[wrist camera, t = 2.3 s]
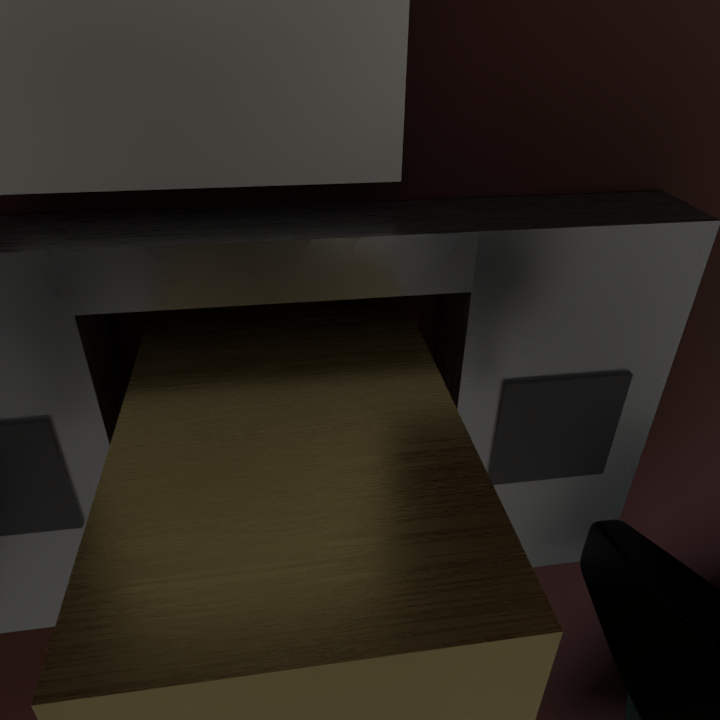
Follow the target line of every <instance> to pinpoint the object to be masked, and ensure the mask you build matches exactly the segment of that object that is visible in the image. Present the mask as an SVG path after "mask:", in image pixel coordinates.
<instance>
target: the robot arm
mask: <svg viewBox="0 0 720 720" xmlns="http://www.w3.org/2000/svg"><path fill="white" fill-rule="evenodd" d="M580 566H581V571H582V574H583V577H584V580H585V583H586V585H587V588H588V591H589V594H590V596H591V599H592V602H593V605H594V607H595V610H596V613H597V616H598V618H599V621H600V624H601V627H602V630H603V632H604V635H605V638H606V641H607V643H608V646H609V649H610V652H611V654H612V657H613V659H614V662H615V665H616V667H617V670H618V672H619V674H620V676H621V679H622V681H623V683H624V685H625V687H626V689H627V692H628V694H629V696H630V698H631V700H632V702H633V704H634V706H635V708H636V710H637V712H638V714H639V717H640V719H641V720H720V589H718V588H717V587H716V586H714V585H713V584H711V583H710V582H709V581H707V580H706V579H704V578H703V577H701V576H700V575H699V574H697V573H696V572H694V571H693V570H691V569H690V568H689V567H687V566H686V565H684V564H683V563H682V562H680V561H679V560H677V559H676V558H674V557H673V556H672V555H670V554H669V553H667V552H666V551H664V550H663V549H662V548H660V547H659V546H657V545H656V544H655V543H653V542H652V541H650V540H649V539H647V538H646V537H645V536H643V535H642V534H640V533H639V532H637V531H636V530H635V529H633V528H632V527H630V526H629V525H628V524H626V523H625V522H623V521H621V520H617V519H611V520H602V521H596V522H593V523H592V524H591V525H590V528H589V531H588V534H587V537H586V540H585V544H584V547H583V550H582V553H581V558H580Z"/></svg>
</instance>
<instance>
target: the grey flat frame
mask: <svg viewBox="0 0 720 720" xmlns="http://www.w3.org/2000/svg"><path fill="white" fill-rule="evenodd" d="M719 225H720V220H719V219H717V218H715V217H713V216H711V215H709V214H707V213H705V212H703V211H701V210H699V209H698V208H696V207H694V206H692V205H690V204H688V203H686V202H684V201H682V200H680V199H678V198H676V197H674V196H672V195H670V194H668V193H666V192H665V191H649V192H622V193H596V194H569V195H542V196H516V197H489V198H462V199H436V200H409V201H383V202H356V203H329V204H303V205H276V206H249V207H223V208H196V209H170V210H143V211H116V212H90V213H63V214H37V215H10V216H0V633H6V632H14V631H23V630H31V629H39V628H47V627H55V625H56V622H57V618H58V615H59V612H60V609H61V605H62V602H63V599H64V595H65V592H66V589H67V585H68V582H69V579H70V576H71V572H72V569H73V566H74V562H75V559H76V556H77V552H78V549H79V546H80V542H81V539H82V536H83V533H84V529H85V526H86V523H87V519H88V516H89V513H90V509H91V506H92V503H93V500H94V496H95V493H96V490H97V486H98V483H99V480H100V476H101V473H102V470H103V467H104V463H105V460H106V457H107V453H108V450H109V447H110V443H111V440H112V437H113V434H114V430H115V427H116V424H117V420H118V417H119V414H120V410H121V407H122V404H123V401H124V397H125V394H126V387H125V383H124V379H123V375H122V371H121V367H120V362H119V358H118V354H117V350H116V346H115V342H114V338H113V333H112V329H111V325H110V321H109V317H108V314H109V313H126V312H143V311H160V310H177V309H193V308H210V307H227V306H244V305H261V304H278V303H295V302H312V301H329V300H346V299H362V298H379V297H396V296H413V295H430V294H441V297H440V308H439V319H438V330H437V341H436V352H435V364H436V366H437V368H438V370H439V372H440V375H441V377H442V379H443V381H444V383H445V385H446V387H447V389H448V391H449V393H450V396H451V398H452V400H453V402H454V404H455V406H456V408H457V410H458V412H459V414H460V417H461V419H462V421H463V423H464V425H465V427H466V429H467V431H468V433H469V435H470V438H471V440H472V442H473V444H474V446H475V448H476V450H477V452H478V454H479V456H480V459H481V461H482V463H483V465H484V467H485V469H486V471H487V473H488V475H489V477H490V480H491V482H492V484H493V486H494V488H495V490H496V492H497V494H498V496H499V498H500V501H501V503H502V505H503V507H504V509H505V511H506V513H507V515H508V517H509V519H510V521H511V524H512V526H513V528H514V530H515V532H516V534H517V536H518V538H519V540H520V542H521V545H522V547H523V549H524V551H525V553H526V555H527V557H528V559H529V561H530V563H531V566H532V567H538V566H546V565H554V564H562V563H570V562H578V561H580V558H581V553H582V550H583V547H584V544H585V540H586V537H587V534H588V531H589V528H590V525H591V524H592V523H593V522H596V521H602V520H611V519H617V520H619V518H620V515H621V513H622V510H623V507H624V504H625V501H626V498H627V495H628V492H629V489H630V486H631V483H632V480H633V477H634V474H635V472H636V469H637V466H638V463H639V460H640V457H641V454H642V451H643V448H644V445H645V442H646V439H647V436H648V433H649V431H650V428H651V425H652V422H653V419H654V416H655V413H656V410H657V407H658V404H659V401H660V398H661V395H662V392H663V389H664V387H665V384H666V381H667V378H668V375H669V372H670V369H671V366H672V363H673V360H674V357H675V354H676V351H677V348H678V346H679V343H680V340H681V337H682V334H683V331H684V328H685V325H686V322H687V319H688V316H689V313H690V310H691V307H692V305H693V302H694V299H695V296H696V293H697V290H698V287H699V284H700V281H701V278H702V275H703V272H704V269H705V266H706V264H707V261H708V258H709V255H710V252H711V249H712V246H713V243H714V240H715V237H716V234H717V231H718V228H719Z"/></svg>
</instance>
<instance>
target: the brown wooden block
mask: <svg viewBox="0 0 720 720" xmlns="http://www.w3.org/2000/svg"><path fill="white" fill-rule="evenodd" d="M562 633H563V631H562V629H561V626H560V624H559V622H558V620H557V618H556V616H555V614H554V612H553V610H552V608H551V605H550V603H549V601H548V599H547V597H546V595H545V593H544V591H543V589H542V587H541V584H540V582H539V580H538V578H537V576H536V574H535V572H534V570H533V568H532V566H531V563H530V561H529V559H528V557H527V555H526V553H525V551H524V549H523V547H522V545H521V542H520V540H519V538H518V536H517V534H516V532H515V530H514V528H513V526H512V524H511V521H510V519H509V517H508V515H507V513H506V511H505V509H504V507H503V505H502V503H501V501H500V498H499V496H498V494H497V492H496V490H495V488H494V486H493V484H492V482H491V480H490V477H489V475H488V473H487V471H486V469H485V467H484V465H483V463H482V461H481V459H480V456H479V454H478V452H477V450H476V448H475V446H474V444H473V442H472V440H471V438H470V435H469V433H468V431H467V429H466V427H465V425H464V423H463V421H462V419H461V417H460V414H459V412H458V410H457V408H456V406H455V404H454V402H453V400H452V398H451V396H450V393H449V391H448V389H447V387H446V385H445V383H444V381H443V379H442V377H441V375H440V372H439V370H438V368H437V366H436V364H435V362H434V360H433V358H432V356H431V354H430V351H429V349H428V347H427V345H426V343H425V341H424V339H423V337H422V335H421V333H420V330H419V328H418V326H417V324H416V322H415V320H414V318H413V316H412V314H411V312H410V309H409V307H408V305H407V303H406V301H405V299H404V297H403V296H396V297H379V298H362V299H346V300H329V301H312V302H295V303H278V304H261V305H244V306H227V307H210V308H193V309H177V310H160V311H150V315H149V318H148V321H147V325H146V328H145V331H144V335H143V338H142V341H141V344H140V348H139V351H138V354H137V358H136V361H135V364H134V368H133V371H132V374H131V377H130V381H129V384H128V387H127V391H126V394H125V397H124V401H123V404H122V407H121V410H120V414H119V417H118V420H117V424H116V427H115V430H114V434H113V437H112V440H111V443H110V447H109V450H108V453H107V457H106V460H105V463H104V467H103V470H102V473H101V476H100V480H99V483H98V486H97V490H96V493H95V496H94V500H93V503H92V506H91V509H90V513H89V516H88V519H87V523H86V526H85V529H84V533H83V536H82V539H81V542H80V546H79V549H78V552H77V556H76V559H75V562H74V566H73V569H72V572H71V576H70V579H69V582H68V585H67V589H66V592H65V595H64V599H63V602H62V605H61V609H60V612H59V615H58V618H57V622H56V625H55V628H54V632H53V635H52V638H51V642H50V645H49V648H48V651H47V655H46V658H45V661H44V665H43V668H42V671H41V675H40V678H39V681H38V684H37V688H36V691H35V694H34V698H33V701H32V704H31V707H32V709H33V711H34V713H35V714H36V716H37V718H38V720H535V719H536V716H537V713H538V709H539V706H540V703H541V700H542V697H543V694H544V690H545V687H546V684H547V681H548V678H549V675H550V671H551V668H552V665H553V662H554V659H555V655H556V652H557V649H558V646H559V643H560V640H561V636H562Z"/></svg>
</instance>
